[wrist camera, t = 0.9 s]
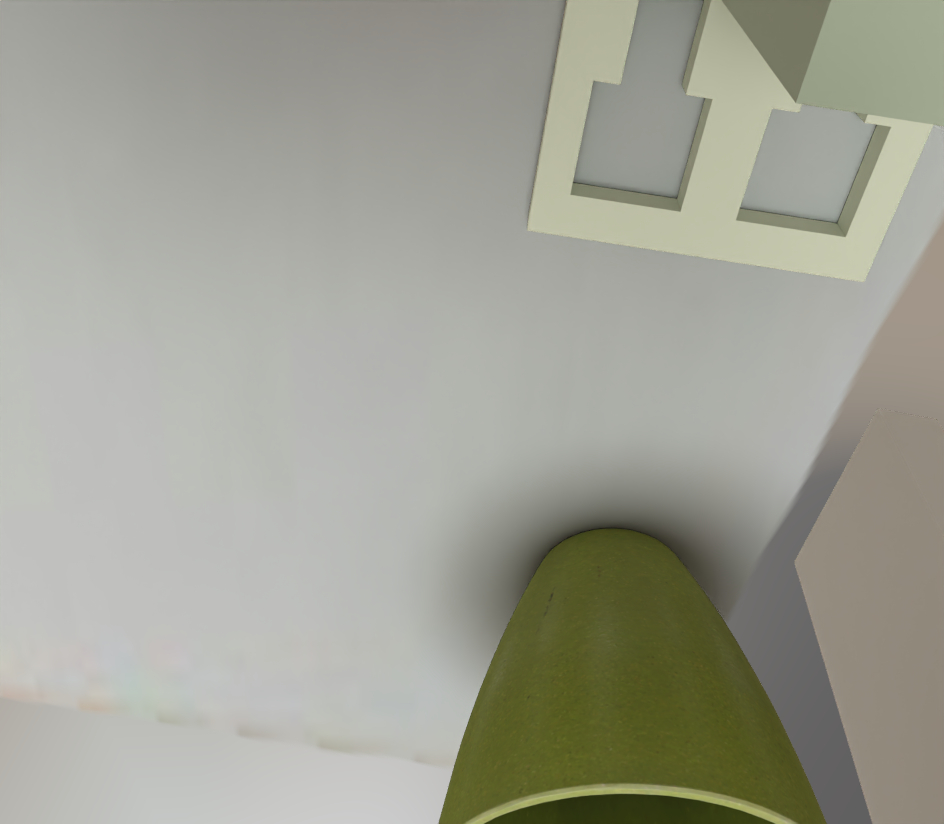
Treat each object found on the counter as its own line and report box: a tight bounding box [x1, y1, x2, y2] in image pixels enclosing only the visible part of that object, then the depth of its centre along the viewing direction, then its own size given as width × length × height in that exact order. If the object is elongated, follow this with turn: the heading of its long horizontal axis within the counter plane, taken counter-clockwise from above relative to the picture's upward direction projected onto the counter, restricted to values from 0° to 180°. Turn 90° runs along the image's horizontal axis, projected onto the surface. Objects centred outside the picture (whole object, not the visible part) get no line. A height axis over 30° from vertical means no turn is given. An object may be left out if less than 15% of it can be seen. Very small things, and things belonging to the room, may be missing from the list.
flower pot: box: [439, 529, 826, 824], centre depth 38 cm, size 15×15×16 cm
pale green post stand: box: [527, 0, 944, 282], centre depth 24 cm, size 14×13×13 cm
